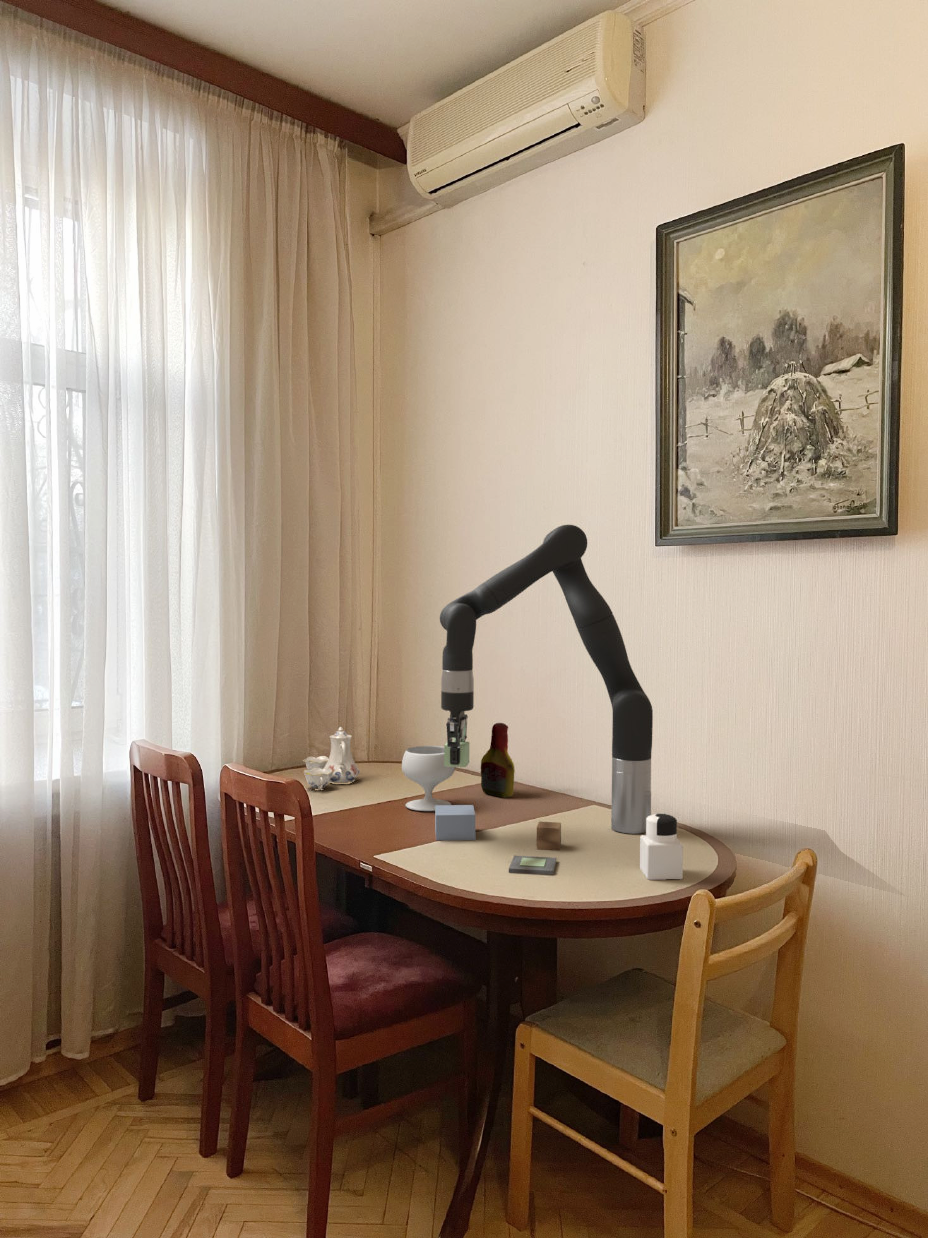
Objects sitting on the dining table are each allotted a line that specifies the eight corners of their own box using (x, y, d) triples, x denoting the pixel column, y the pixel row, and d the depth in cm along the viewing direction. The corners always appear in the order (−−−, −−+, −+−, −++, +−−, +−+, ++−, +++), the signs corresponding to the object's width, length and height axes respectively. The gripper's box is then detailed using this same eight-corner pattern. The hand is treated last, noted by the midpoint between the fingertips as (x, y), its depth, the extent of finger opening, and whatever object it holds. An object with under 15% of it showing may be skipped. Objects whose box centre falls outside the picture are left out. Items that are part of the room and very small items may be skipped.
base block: (472, 830, 222) (472, 805, 222) (475, 840, 213) (475, 814, 213) (435, 830, 221) (435, 805, 221) (436, 841, 213) (436, 815, 212)
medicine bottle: (673, 868, 192) (674, 811, 192) (683, 880, 185) (683, 820, 185) (639, 869, 192) (640, 811, 192) (647, 880, 185) (648, 820, 185)
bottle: (520, 797, 253) (520, 724, 252) (502, 801, 249) (502, 727, 249) (493, 789, 263) (494, 719, 262) (475, 792, 259) (475, 721, 258)
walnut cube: (560, 844, 210) (561, 822, 210) (559, 851, 205) (559, 828, 205) (538, 843, 211) (538, 821, 210) (536, 849, 206) (536, 827, 206)
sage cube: (469, 762, 219) (469, 741, 218) (465, 767, 214) (465, 745, 213) (448, 762, 220) (448, 741, 219) (444, 766, 215) (444, 744, 214)
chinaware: (299, 778, 284) (293, 725, 282) (353, 770, 288) (348, 717, 286) (307, 800, 257) (301, 741, 255) (367, 791, 261) (361, 732, 259)
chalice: (444, 815, 234) (444, 756, 234) (393, 810, 239) (393, 752, 238) (462, 802, 248) (462, 746, 247) (413, 798, 252) (413, 743, 251)
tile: (556, 861, 197) (556, 856, 197) (552, 875, 188) (552, 870, 188) (514, 859, 199) (514, 854, 199) (508, 872, 190) (508, 867, 190)
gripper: (468, 693, 208) (467, 769, 209) (478, 686, 222) (477, 756, 223) (435, 692, 209) (435, 767, 210) (447, 685, 223) (447, 755, 224)
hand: (457, 761), depth 217 cm, fingers closed on sage cube, 5 cm apart
